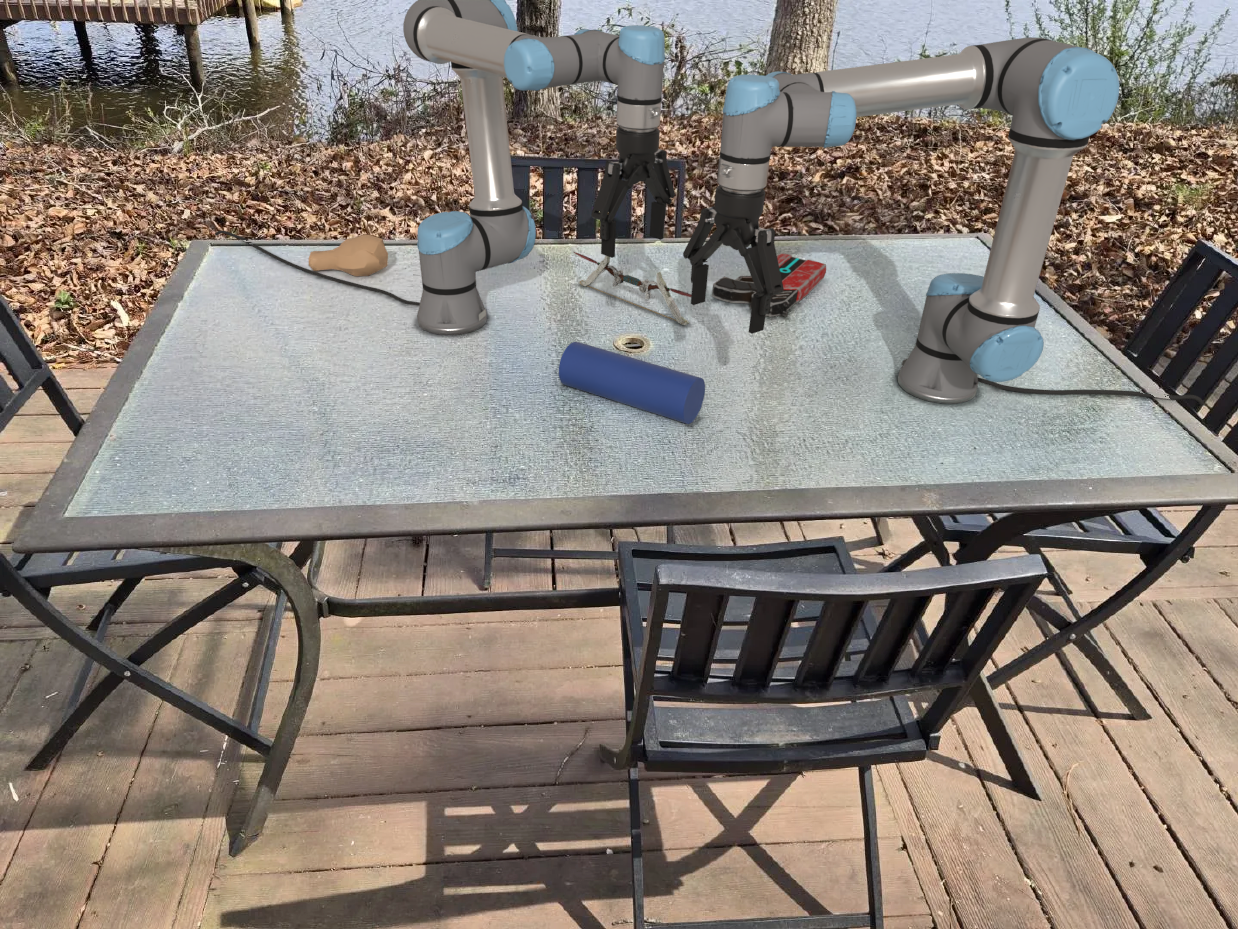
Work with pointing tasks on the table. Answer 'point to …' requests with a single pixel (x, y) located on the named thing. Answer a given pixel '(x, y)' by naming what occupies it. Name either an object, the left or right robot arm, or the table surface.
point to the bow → (643, 285)
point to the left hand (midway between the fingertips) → (632, 246)
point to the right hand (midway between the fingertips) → (726, 316)
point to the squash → (353, 256)
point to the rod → (632, 382)
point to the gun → (795, 280)
